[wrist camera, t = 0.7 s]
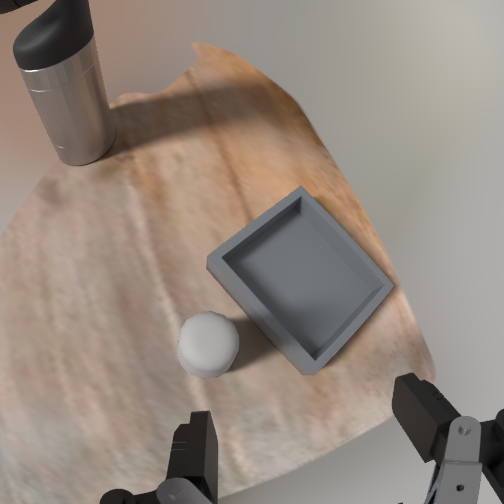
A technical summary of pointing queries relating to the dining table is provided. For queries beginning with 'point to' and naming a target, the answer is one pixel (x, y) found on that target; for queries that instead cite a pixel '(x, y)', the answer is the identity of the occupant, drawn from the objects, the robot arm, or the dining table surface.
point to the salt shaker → (207, 344)
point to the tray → (300, 279)
